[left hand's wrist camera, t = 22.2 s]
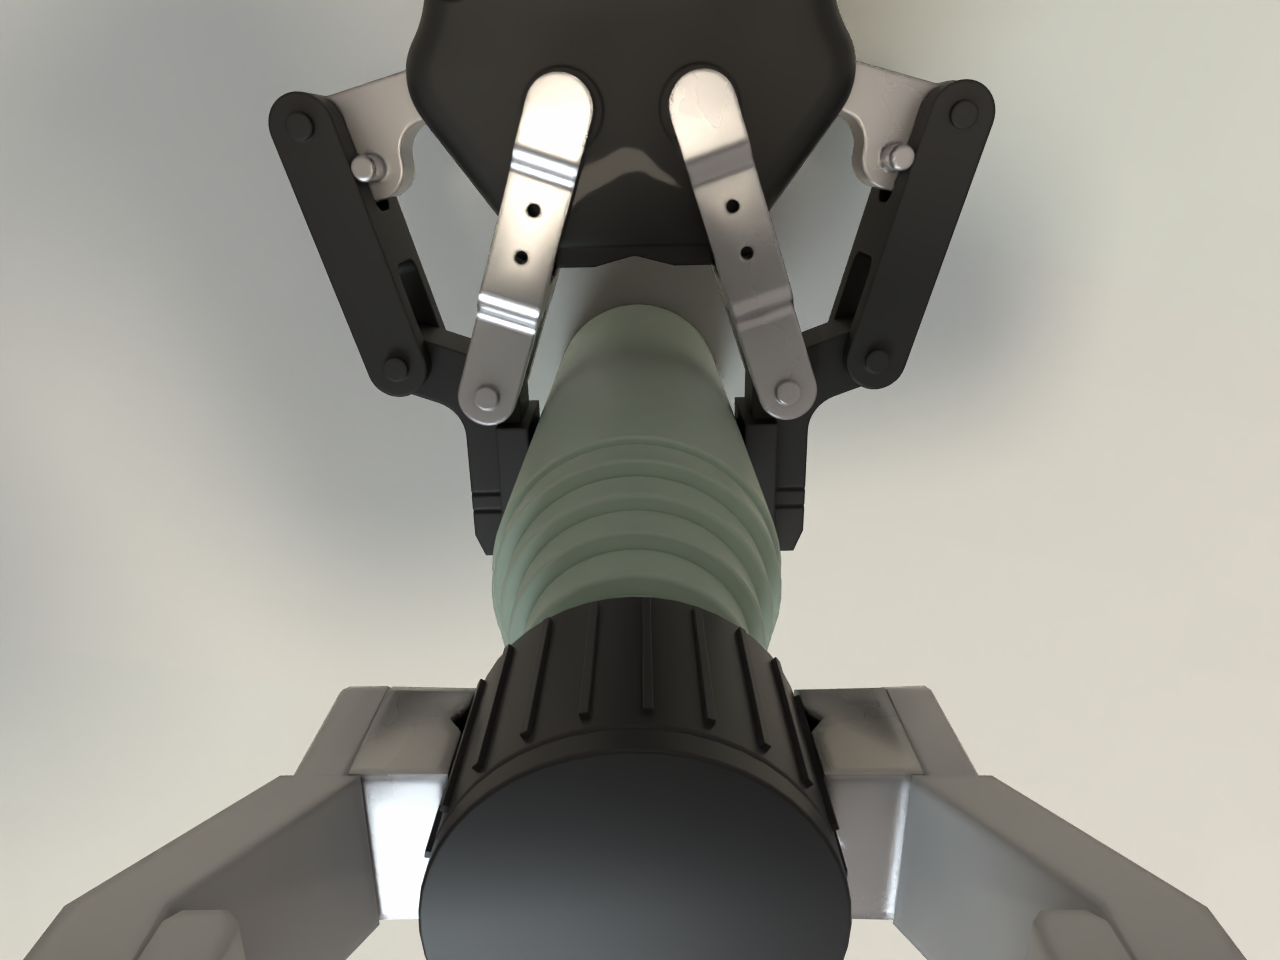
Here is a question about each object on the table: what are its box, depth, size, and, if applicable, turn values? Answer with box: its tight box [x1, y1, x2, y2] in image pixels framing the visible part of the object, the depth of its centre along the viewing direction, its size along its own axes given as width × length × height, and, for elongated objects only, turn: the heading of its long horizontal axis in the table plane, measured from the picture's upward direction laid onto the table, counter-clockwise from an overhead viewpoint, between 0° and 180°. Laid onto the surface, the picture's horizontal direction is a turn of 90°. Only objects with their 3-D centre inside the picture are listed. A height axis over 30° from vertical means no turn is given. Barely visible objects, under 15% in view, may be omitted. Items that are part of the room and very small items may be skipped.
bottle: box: [492, 304, 781, 651], centre depth 17 cm, size 5×5×19 cm
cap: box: [418, 596, 852, 960], centre depth 9 cm, size 4×4×3 cm
